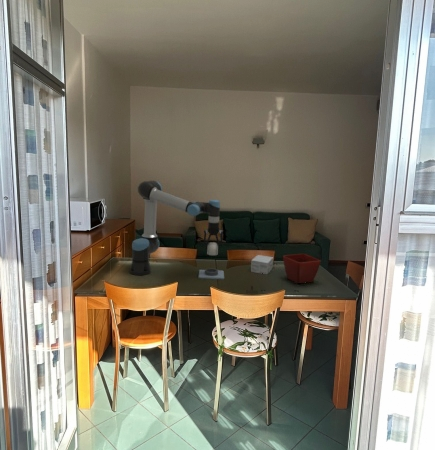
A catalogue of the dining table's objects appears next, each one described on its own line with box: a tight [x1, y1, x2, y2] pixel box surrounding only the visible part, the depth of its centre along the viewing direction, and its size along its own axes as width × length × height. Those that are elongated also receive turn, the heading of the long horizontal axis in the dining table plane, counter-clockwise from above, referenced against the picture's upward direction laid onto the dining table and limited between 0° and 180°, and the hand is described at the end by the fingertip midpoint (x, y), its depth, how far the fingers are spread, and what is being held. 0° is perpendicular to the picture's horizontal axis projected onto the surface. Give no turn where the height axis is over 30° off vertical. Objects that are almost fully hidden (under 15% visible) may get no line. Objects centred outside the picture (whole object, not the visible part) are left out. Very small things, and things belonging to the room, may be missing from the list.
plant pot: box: [282, 253, 322, 284], centre depth 239 cm, size 19×19×17 cm
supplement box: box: [250, 254, 274, 275], centre depth 259 cm, size 17×13×9 cm
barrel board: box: [197, 267, 225, 280], centre depth 243 cm, size 18×16×4 cm
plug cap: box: [207, 241, 218, 256], centre depth 239 cm, size 6×6×8 cm
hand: (212, 253), depth 240 cm, fingers closed on plug cap, 6 cm apart
